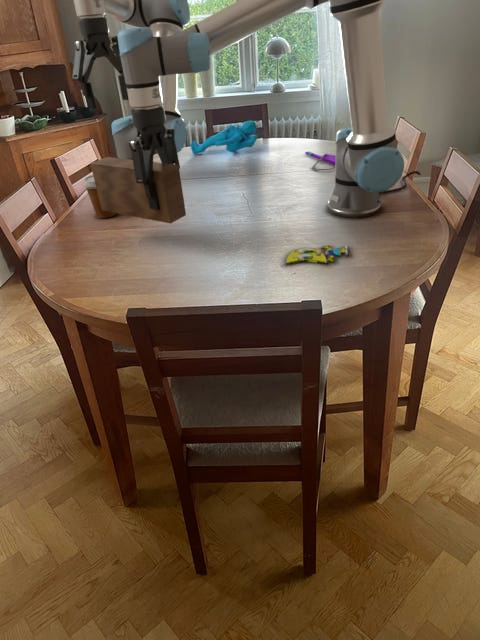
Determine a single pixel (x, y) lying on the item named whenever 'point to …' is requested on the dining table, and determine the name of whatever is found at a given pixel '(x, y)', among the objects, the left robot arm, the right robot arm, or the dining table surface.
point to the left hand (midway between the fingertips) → (110, 104)
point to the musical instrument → (325, 157)
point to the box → (138, 190)
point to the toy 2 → (315, 255)
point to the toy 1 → (230, 138)
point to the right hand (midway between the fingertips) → (164, 204)
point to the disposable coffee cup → (95, 197)
